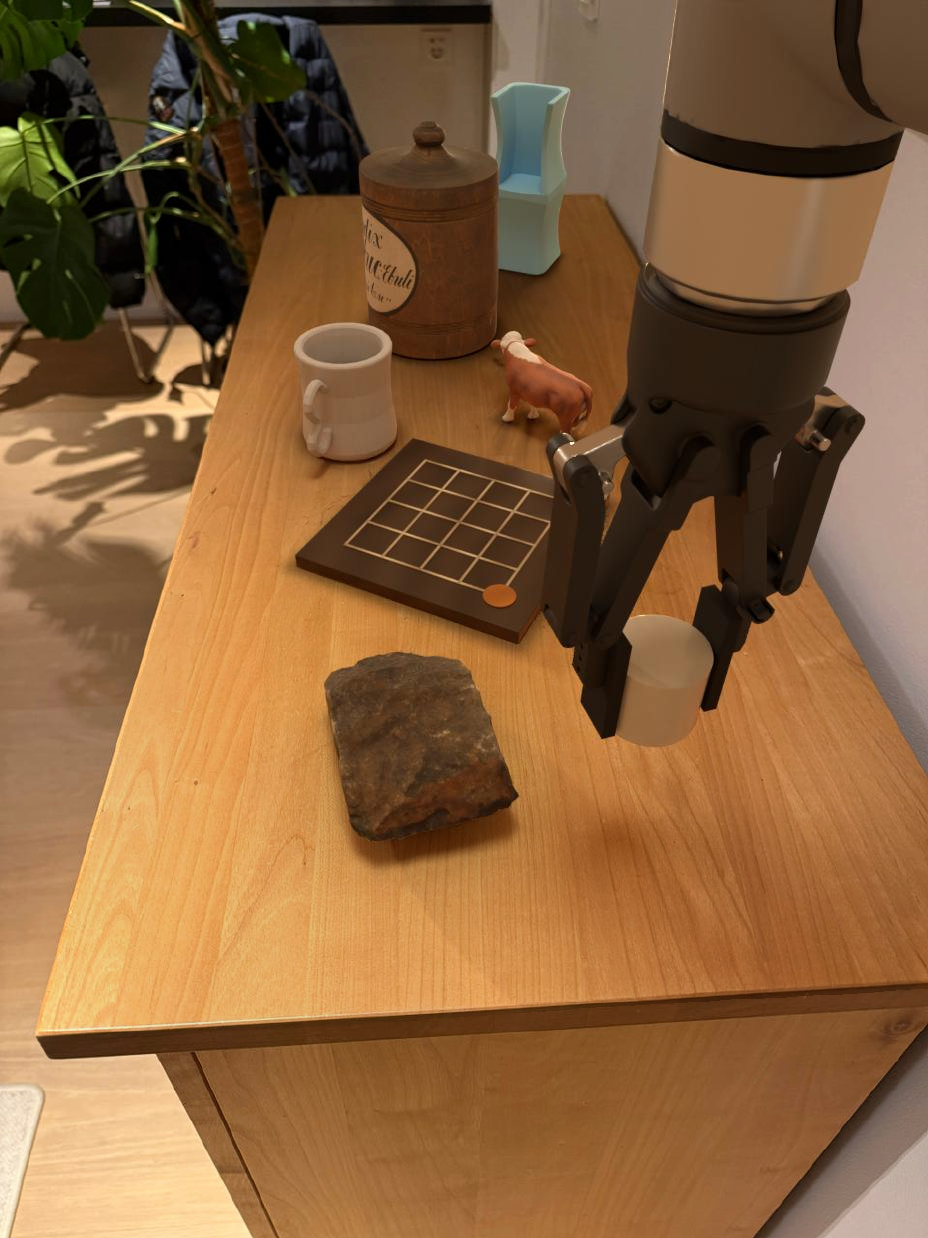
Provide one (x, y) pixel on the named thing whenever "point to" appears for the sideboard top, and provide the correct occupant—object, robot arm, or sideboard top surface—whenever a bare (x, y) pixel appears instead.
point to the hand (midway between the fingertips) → (648, 704)
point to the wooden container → (431, 245)
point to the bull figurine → (542, 385)
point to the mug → (346, 391)
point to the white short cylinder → (663, 680)
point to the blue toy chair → (529, 174)
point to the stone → (414, 746)
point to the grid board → (445, 538)
